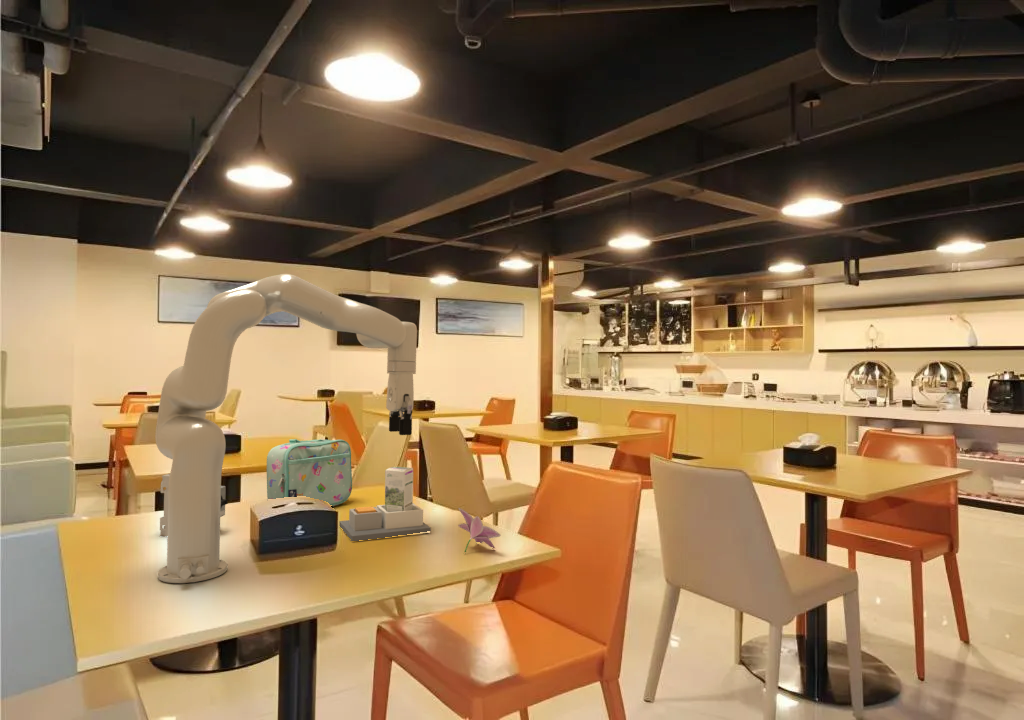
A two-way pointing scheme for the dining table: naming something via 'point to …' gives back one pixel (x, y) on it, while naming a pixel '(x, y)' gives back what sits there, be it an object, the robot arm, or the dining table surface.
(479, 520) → the lily
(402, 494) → the syrup box
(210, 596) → the dining table surface
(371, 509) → the button
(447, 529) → the dining table surface
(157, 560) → the dining table surface
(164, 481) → the circuit breaker
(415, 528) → the grey compartment tray
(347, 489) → the lunch box
